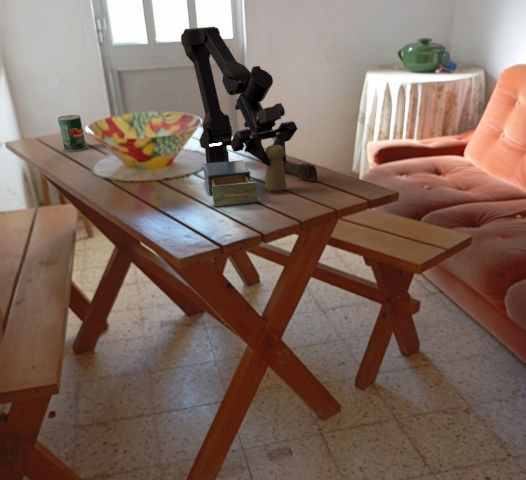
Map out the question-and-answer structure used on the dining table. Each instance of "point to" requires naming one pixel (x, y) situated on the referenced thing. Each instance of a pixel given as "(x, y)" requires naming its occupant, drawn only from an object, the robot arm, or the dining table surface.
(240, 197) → the drawer
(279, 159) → the pawn game piece
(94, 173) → the dining table surface
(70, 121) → the canned tomato
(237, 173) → the cabinet
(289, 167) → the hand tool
